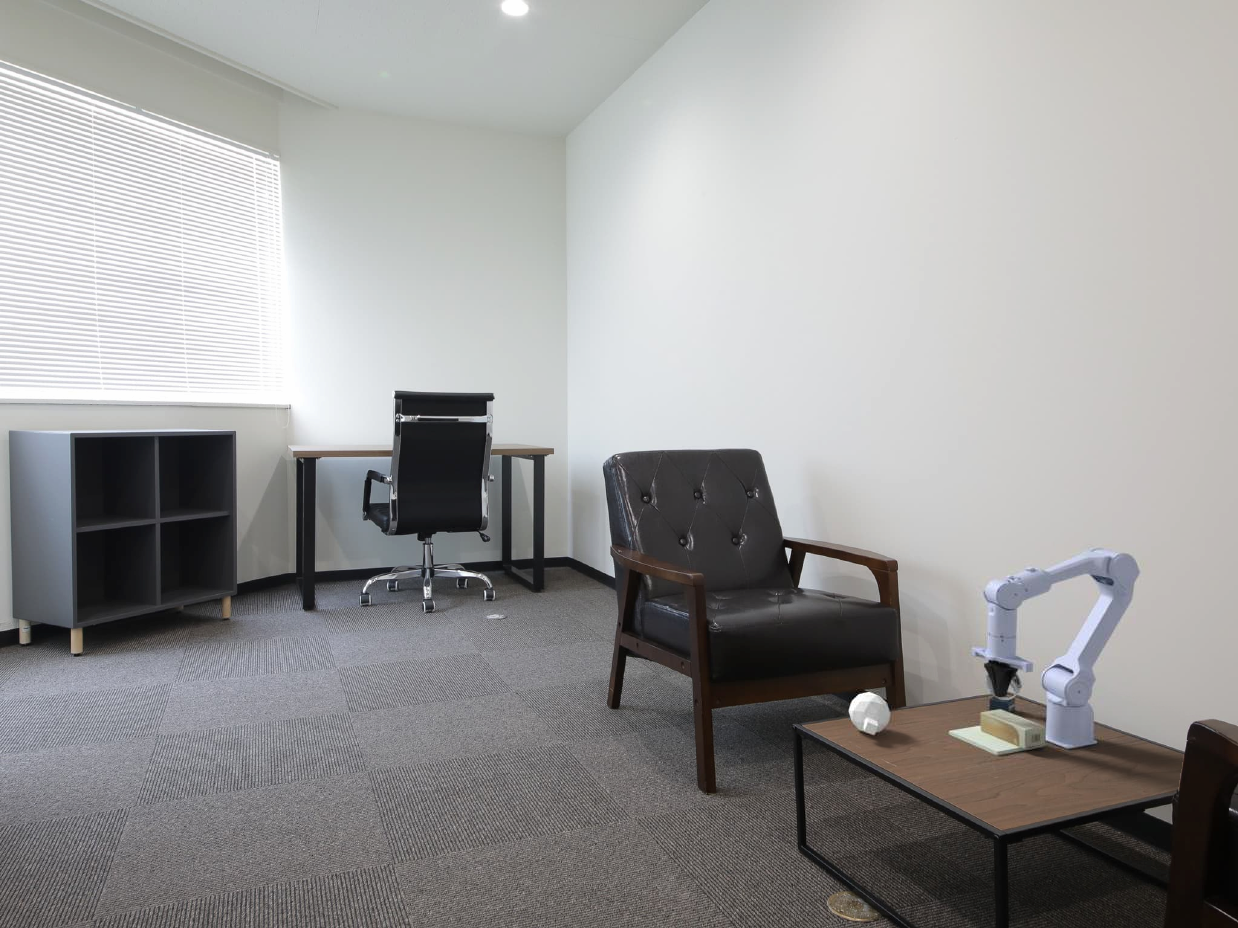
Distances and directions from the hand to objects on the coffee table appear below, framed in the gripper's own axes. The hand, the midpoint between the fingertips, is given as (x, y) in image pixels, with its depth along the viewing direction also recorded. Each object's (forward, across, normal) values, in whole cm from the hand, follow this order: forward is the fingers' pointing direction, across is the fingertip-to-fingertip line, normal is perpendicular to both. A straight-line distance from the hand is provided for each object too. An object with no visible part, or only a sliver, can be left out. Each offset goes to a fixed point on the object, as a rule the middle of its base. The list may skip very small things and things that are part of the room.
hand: (1000, 696), depth 178 cm
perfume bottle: (+10, -15, -24) cm, 30 cm away
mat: (+10, -1, 0) cm, 10 cm away
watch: (+10, -15, +18) cm, 26 cm away
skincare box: (+7, +7, +2) cm, 11 cm away
